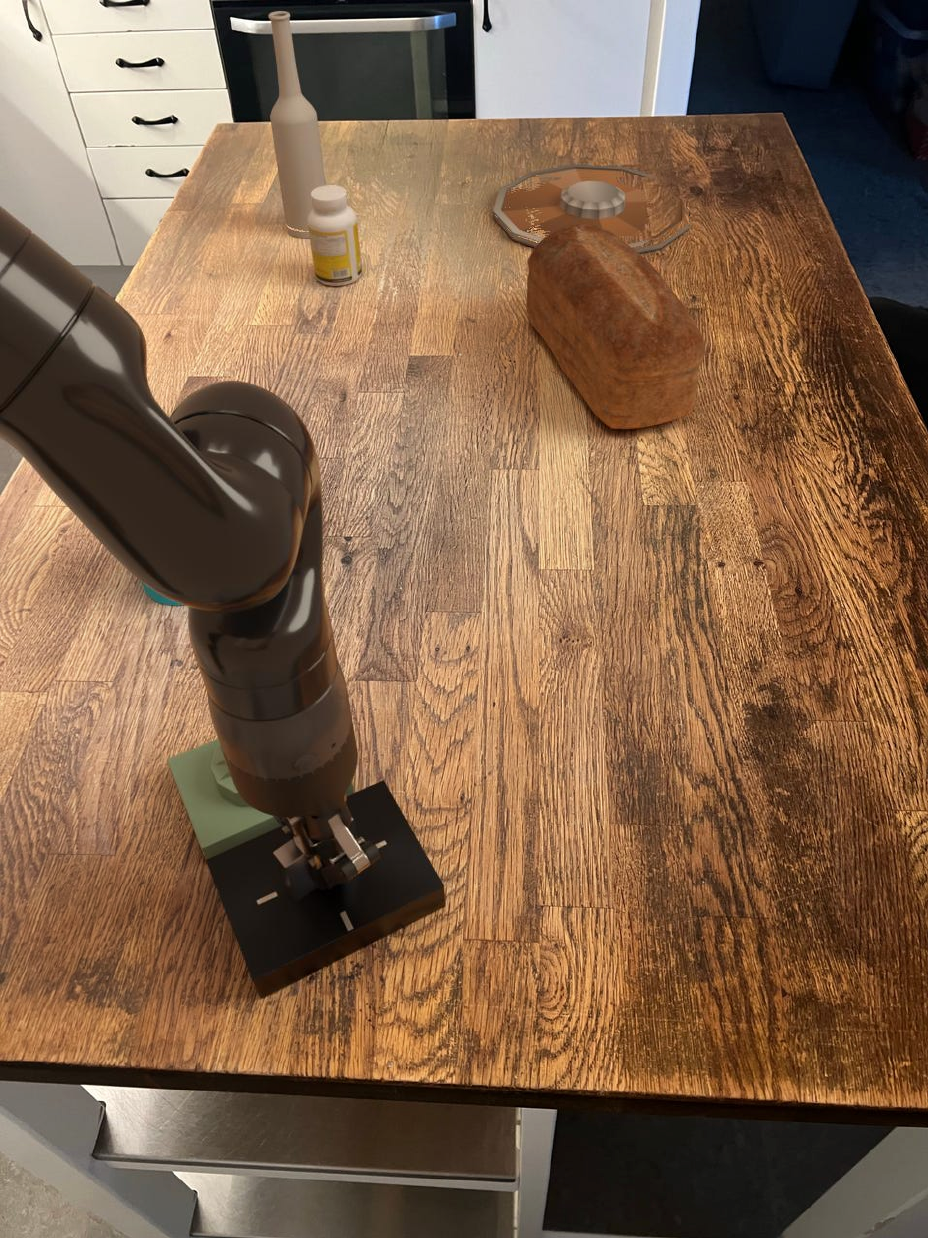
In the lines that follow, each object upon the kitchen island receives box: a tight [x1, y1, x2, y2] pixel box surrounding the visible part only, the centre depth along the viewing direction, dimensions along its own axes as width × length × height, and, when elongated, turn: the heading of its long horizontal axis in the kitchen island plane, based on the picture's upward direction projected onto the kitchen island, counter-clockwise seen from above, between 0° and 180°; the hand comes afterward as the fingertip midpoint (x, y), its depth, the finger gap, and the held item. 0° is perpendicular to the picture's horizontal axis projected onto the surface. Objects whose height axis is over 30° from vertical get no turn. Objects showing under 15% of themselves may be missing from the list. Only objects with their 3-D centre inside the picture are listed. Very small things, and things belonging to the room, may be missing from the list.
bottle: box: [267, 10, 327, 239], centre depth 133 cm, size 7×7×28 cm
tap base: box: [205, 779, 447, 1000], centre depth 68 cm, size 14×10×3 cm
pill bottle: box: [307, 184, 363, 287], centre depth 129 cm, size 6×6×12 cm
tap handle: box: [273, 817, 357, 903], centre depth 65 cm, size 6×2×5 cm, turn 131°
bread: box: [525, 224, 706, 430], centre depth 111 cm, size 12×31×14 cm, turn 17°
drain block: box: [166, 738, 355, 861], centre depth 75 cm, size 12×9×4 cm
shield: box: [492, 163, 691, 255], centre depth 144 cm, size 30×3×30 cm
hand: (321, 867), depth 67 cm, fingers closed on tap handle
